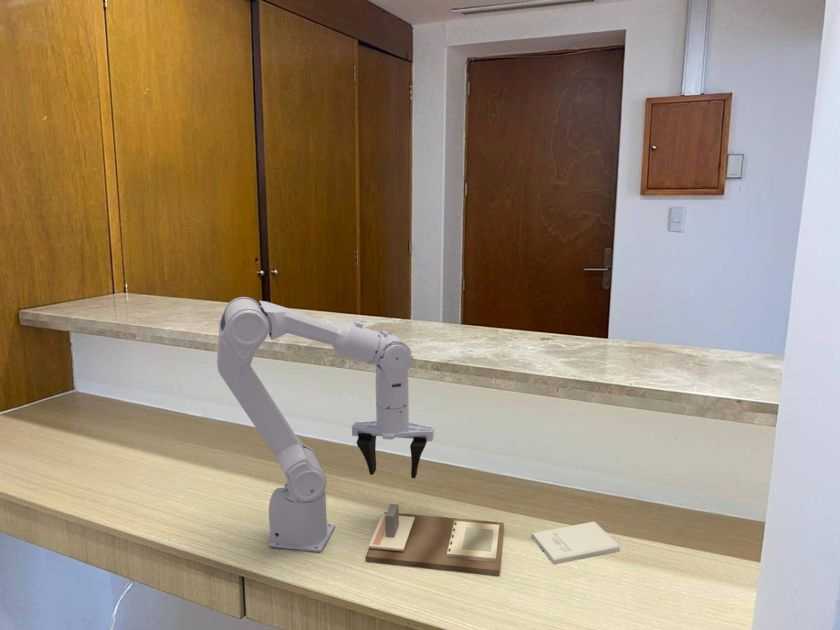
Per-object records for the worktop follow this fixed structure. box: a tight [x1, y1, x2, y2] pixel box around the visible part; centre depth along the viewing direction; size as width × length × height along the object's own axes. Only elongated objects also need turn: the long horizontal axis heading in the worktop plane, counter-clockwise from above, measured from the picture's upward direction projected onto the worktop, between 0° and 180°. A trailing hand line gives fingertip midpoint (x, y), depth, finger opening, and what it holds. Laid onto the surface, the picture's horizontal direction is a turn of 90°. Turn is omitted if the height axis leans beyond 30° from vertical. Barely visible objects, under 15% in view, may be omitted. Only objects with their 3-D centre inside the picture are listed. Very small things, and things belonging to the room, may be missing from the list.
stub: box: [368, 503, 415, 551], centre depth 111 cm, size 6×10×4 cm, turn 170°
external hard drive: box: [530, 521, 620, 565], centre depth 110 cm, size 2×8×12 cm
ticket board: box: [364, 511, 505, 577], centre depth 110 cm, size 22×14×2 cm, turn 80°
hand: (393, 473), depth 115 cm, fingers open, 7 cm apart
